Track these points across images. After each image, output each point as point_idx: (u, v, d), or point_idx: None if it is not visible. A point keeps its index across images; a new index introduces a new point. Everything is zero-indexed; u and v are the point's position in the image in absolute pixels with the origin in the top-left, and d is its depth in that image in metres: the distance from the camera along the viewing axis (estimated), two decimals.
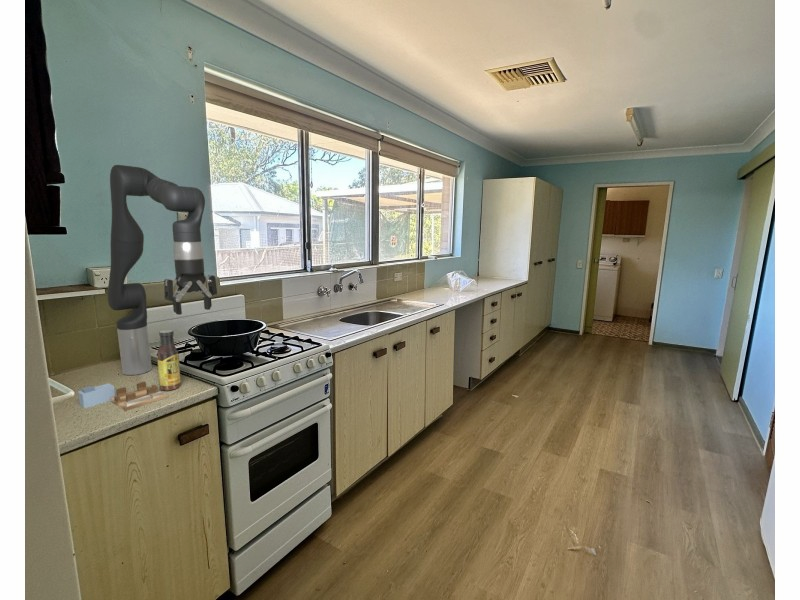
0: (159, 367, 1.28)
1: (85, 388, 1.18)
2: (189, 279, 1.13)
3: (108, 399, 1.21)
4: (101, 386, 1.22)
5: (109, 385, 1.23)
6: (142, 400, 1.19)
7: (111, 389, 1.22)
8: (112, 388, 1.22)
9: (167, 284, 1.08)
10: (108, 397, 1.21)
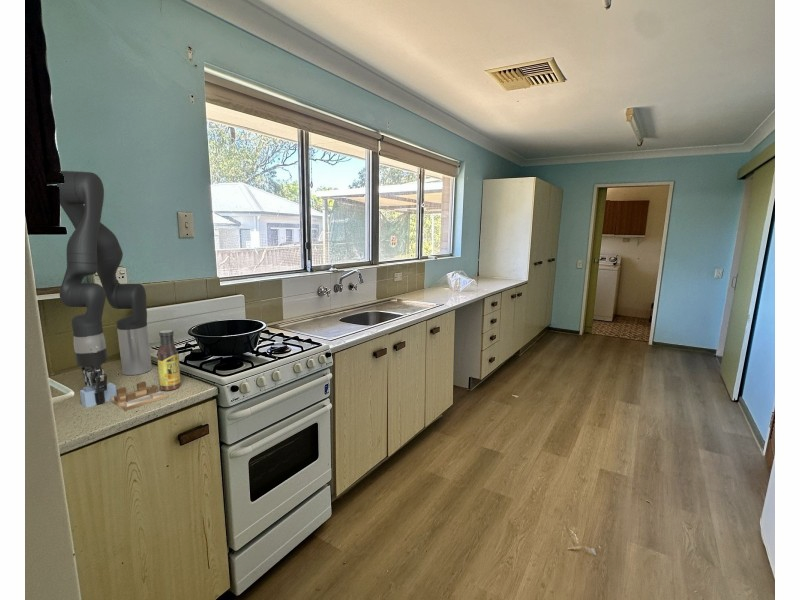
0: (159, 367, 1.28)
1: (87, 387, 1.18)
2: None
3: None
4: None
5: (111, 384, 1.23)
6: (142, 400, 1.19)
7: (113, 388, 1.22)
8: (114, 387, 1.22)
9: (104, 379, 1.16)
10: (110, 396, 1.22)
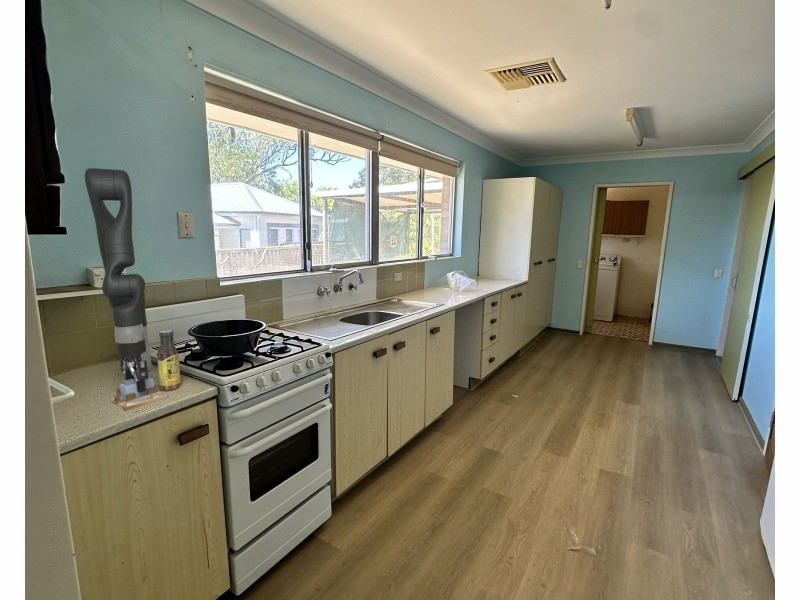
0: (159, 367, 1.28)
1: (127, 381, 1.21)
2: None
3: None
4: None
5: (148, 378, 1.26)
6: (142, 400, 1.19)
7: (151, 382, 1.25)
8: (152, 381, 1.25)
9: (145, 365, 1.18)
10: None
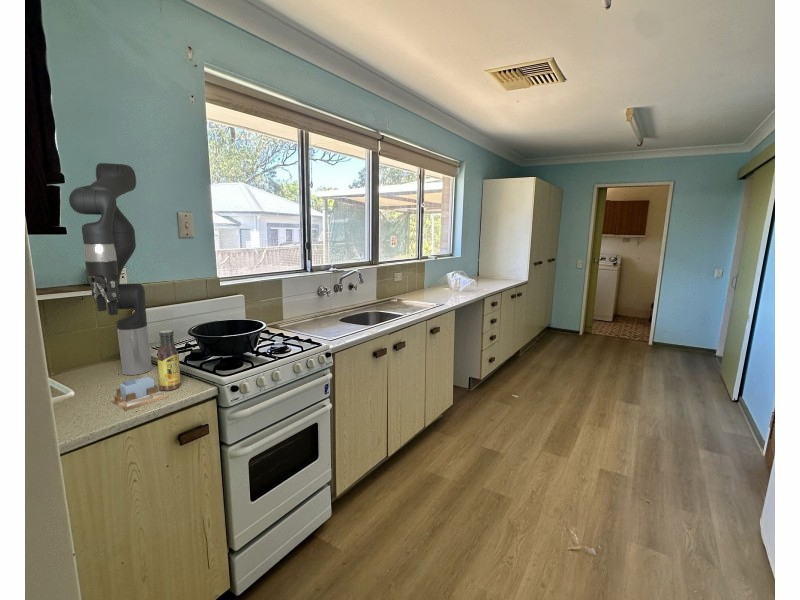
0: (159, 367, 1.28)
1: (127, 381, 1.21)
2: None
3: None
4: (141, 379, 1.25)
5: (148, 378, 1.26)
6: (142, 400, 1.19)
7: (151, 382, 1.25)
8: (152, 381, 1.25)
9: (115, 285, 1.13)
10: None
